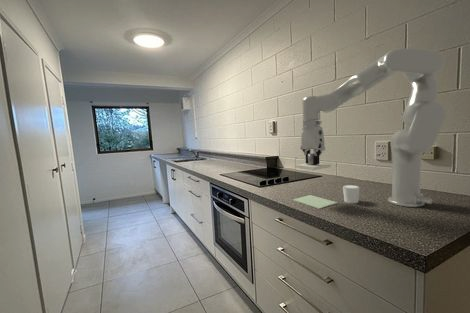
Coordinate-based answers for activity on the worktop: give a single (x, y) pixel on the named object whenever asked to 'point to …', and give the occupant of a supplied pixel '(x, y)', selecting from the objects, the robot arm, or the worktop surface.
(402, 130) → the robot arm
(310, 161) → the lid
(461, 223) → the worktop surface
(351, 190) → the white cup
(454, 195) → the worktop surface
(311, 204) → the mat
